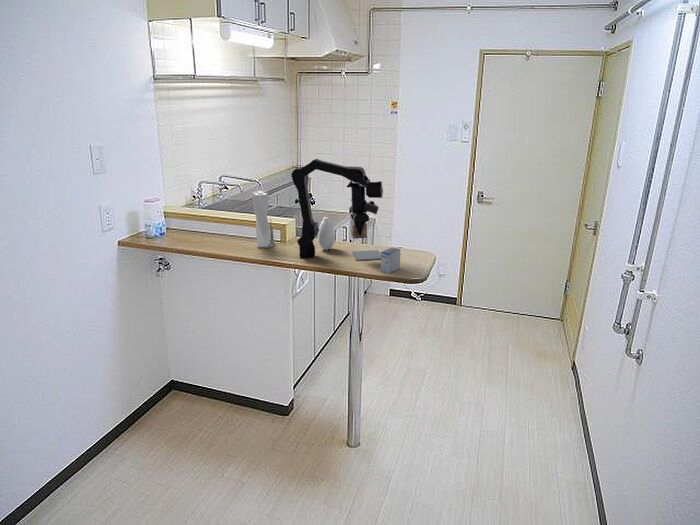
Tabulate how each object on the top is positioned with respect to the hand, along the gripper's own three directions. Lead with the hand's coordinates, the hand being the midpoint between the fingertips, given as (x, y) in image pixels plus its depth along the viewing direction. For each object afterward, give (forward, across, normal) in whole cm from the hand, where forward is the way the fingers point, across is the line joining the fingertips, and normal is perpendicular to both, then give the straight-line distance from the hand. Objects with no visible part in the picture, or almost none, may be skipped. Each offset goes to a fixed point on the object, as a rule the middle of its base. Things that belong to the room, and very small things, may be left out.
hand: (359, 232), depth 218 cm
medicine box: (+12, -17, -11) cm, 23 cm away
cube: (+2, 0, 0) cm, 2 cm away
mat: (+12, +3, -4) cm, 13 cm away
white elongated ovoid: (+12, +16, +13) cm, 24 cm away
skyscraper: (+11, +26, +43) cm, 51 cm away
